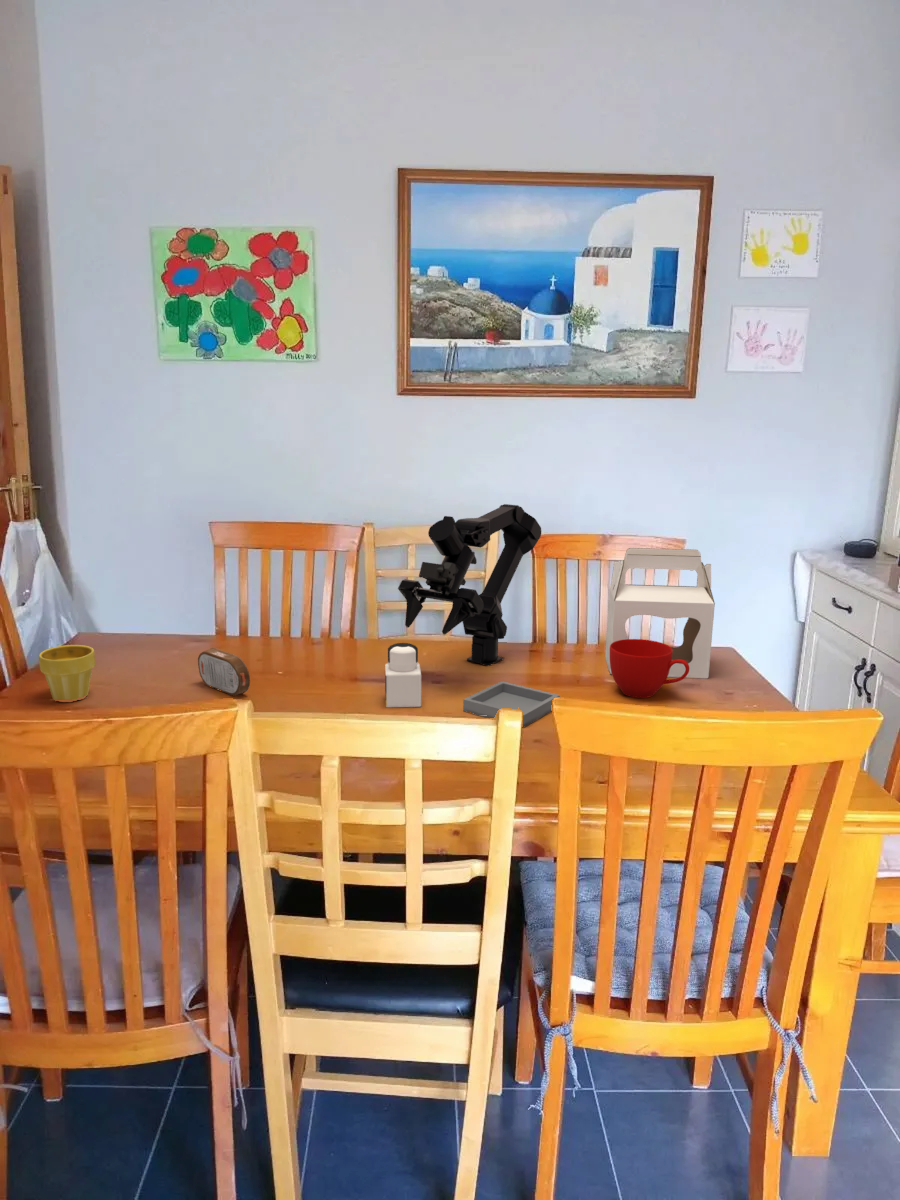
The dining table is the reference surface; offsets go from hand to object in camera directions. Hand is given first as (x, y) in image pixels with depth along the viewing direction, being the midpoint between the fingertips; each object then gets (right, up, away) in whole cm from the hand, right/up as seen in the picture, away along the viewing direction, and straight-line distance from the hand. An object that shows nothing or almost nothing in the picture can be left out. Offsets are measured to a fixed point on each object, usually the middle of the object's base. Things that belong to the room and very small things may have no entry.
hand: (424, 629), depth 184 cm
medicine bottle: (-4, -15, -3) cm, 16 cm away
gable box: (+53, -10, +21) cm, 57 cm away
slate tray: (+18, -16, -6) cm, 24 cm away
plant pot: (-72, -14, -3) cm, 74 cm away
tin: (-42, -13, +3) cm, 44 cm away
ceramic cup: (+47, -14, +3) cm, 49 cm away
